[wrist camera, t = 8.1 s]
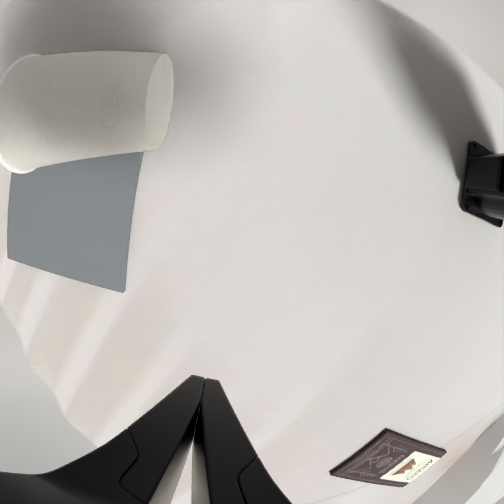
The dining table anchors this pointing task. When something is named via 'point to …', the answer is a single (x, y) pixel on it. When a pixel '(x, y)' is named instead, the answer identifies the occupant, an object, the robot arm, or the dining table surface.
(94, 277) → the mat
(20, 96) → the dixie cup
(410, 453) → the chocolate bar
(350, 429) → the dining table surface
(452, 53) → the dining table surface
